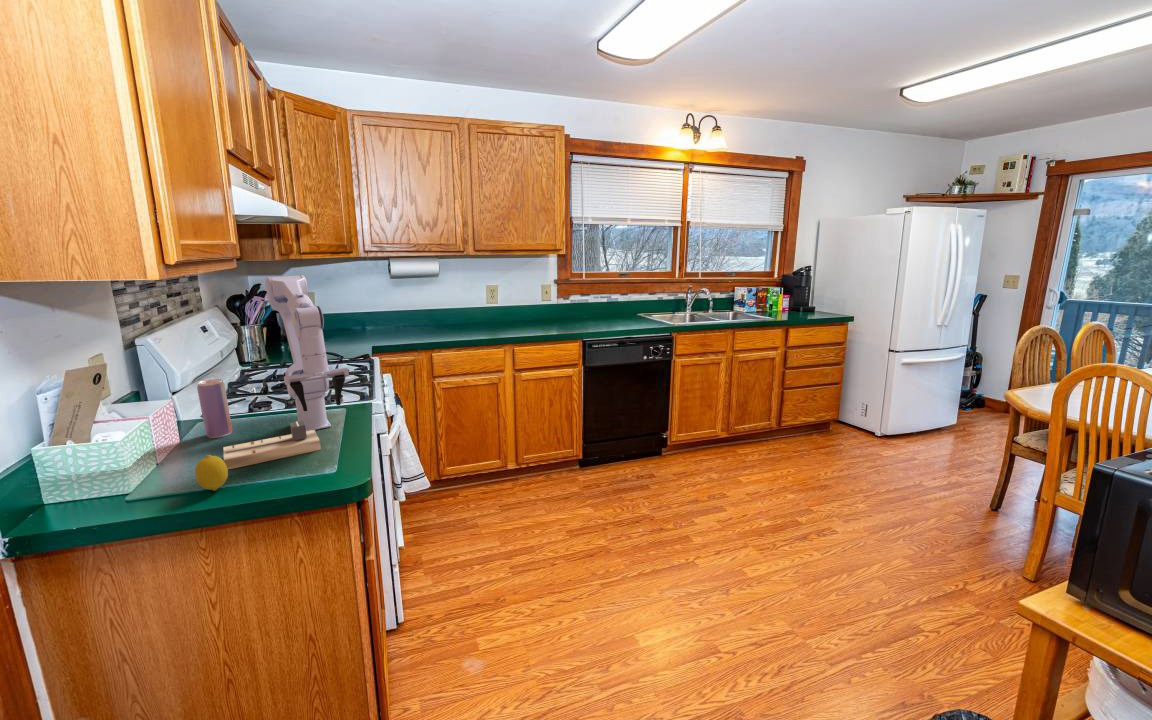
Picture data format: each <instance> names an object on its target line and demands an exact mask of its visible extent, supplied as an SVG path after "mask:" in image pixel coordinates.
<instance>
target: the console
mask: <svg viewBox="0 0 1152 720" xmlns="http://www.w3.org/2000/svg"><path fill="white" fill-rule="evenodd" d="M306 435H307V438H304V439H299V440H294V441H293V438H292V435H291V433H290V434H286V435H280V436H275V437H269V438H264V439H259V440H255V441H249V442H242V443H238V444H233V445H229V446H223V461H224V462H225V464H226V466H227V469H228V470H233V469H237V468H242V467H246V466H251V465H256V464H260V463H264V462H269V461H275V460H278V459H283V458H284V459H285V458H288V457H294V456H297V455H303V454H307V453H312V452H316V451H320V450H321V451H322V448H321V440H320V438H319V436H318V434H317V432H316V430H310V431H306Z"/></svg>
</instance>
